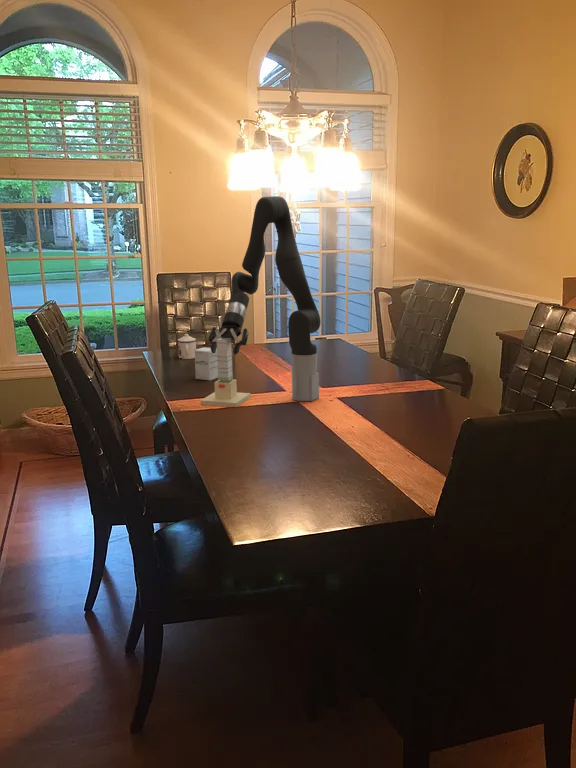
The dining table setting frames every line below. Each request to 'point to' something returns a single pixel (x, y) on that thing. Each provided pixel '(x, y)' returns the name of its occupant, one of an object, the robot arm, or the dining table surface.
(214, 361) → the supplement box
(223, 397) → the stand base
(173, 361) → the dining table surface
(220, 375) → the column
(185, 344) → the teacup with lid
